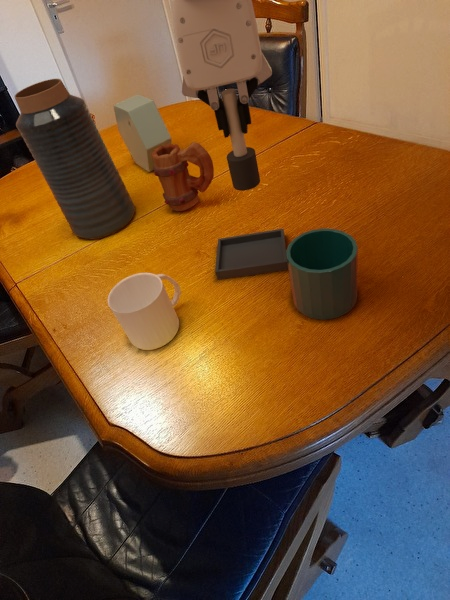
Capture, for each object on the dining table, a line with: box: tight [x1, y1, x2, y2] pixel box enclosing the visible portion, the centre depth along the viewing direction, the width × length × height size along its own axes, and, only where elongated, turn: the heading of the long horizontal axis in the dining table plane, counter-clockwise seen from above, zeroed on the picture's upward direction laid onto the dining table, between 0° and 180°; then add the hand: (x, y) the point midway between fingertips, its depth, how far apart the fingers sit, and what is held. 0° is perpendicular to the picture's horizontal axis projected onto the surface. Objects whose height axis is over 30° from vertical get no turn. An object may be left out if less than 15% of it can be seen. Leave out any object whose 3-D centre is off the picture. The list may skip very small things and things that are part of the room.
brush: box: [220, 88, 261, 192], centre depth 60 cm, size 4×4×14 cm
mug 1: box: [107, 272, 182, 351], centre depth 67 cm, size 12×9×9 cm
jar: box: [286, 228, 359, 321], centre depth 63 cm, size 10×10×10 cm
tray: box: [214, 228, 289, 281], centre depth 77 cm, size 13×10×2 cm
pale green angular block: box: [112, 94, 173, 173], centre depth 113 cm, size 17×8×21 cm
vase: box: [14, 78, 136, 240], centre depth 90 cm, size 16×16×32 cm
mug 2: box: [152, 141, 215, 212], centre depth 92 cm, size 15×8×15 cm, turn 70°
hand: (236, 130), depth 59 cm, fingers closed on brush, 2 cm apart
